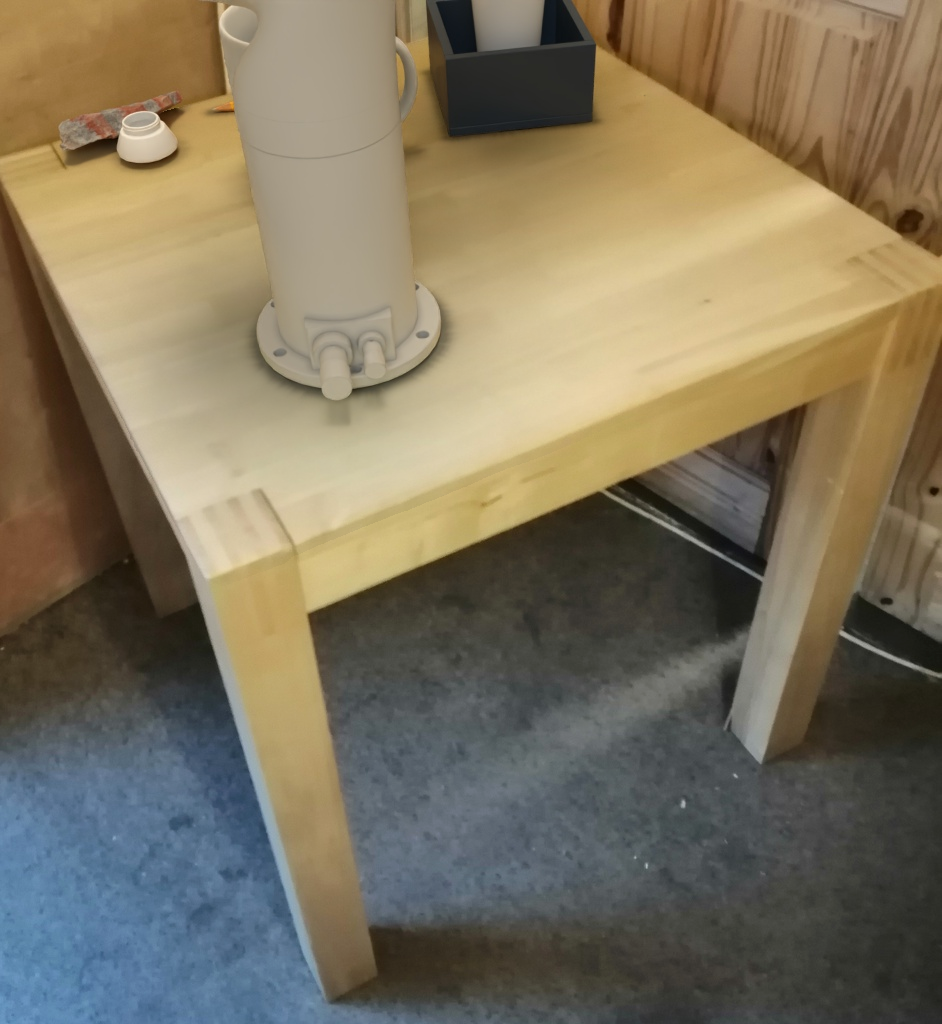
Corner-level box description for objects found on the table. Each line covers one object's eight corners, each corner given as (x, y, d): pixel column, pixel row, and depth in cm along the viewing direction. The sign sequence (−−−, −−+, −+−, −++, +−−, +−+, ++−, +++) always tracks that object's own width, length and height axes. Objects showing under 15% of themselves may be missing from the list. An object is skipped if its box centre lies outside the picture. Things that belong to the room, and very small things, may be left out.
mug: (397, 121, 95) (383, -35, 85) (446, 179, 88) (437, 16, 78) (233, 161, 91) (200, 2, 81) (271, 224, 84) (240, 59, 74)
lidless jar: (185, 158, 91) (170, 132, 94) (176, 125, 89) (162, 100, 92) (126, 172, 90) (114, 146, 93) (117, 139, 88) (104, 113, 91)
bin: (592, 121, 94) (596, 43, 89) (449, 137, 93) (445, 59, 88) (561, 59, 102) (563, -16, 97) (430, 73, 101) (425, -2, 96)
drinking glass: (561, 92, 96) (566, -92, 85) (497, 113, 94) (494, -73, 83) (519, 64, 100) (519, -115, 89) (457, 84, 98) (449, -97, 87)
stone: (165, 89, 98) (190, 84, 95) (174, 117, 99) (199, 113, 96) (39, 125, 92) (60, 121, 88) (50, 155, 93) (72, 152, 89)
